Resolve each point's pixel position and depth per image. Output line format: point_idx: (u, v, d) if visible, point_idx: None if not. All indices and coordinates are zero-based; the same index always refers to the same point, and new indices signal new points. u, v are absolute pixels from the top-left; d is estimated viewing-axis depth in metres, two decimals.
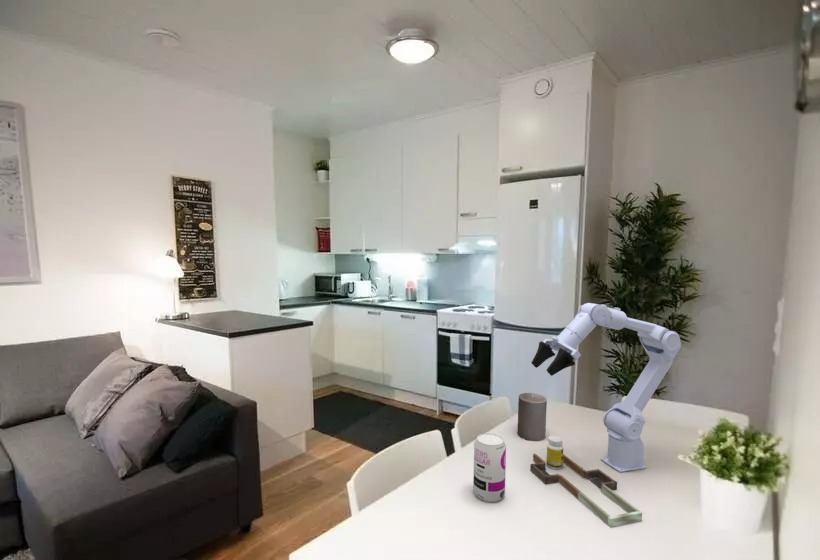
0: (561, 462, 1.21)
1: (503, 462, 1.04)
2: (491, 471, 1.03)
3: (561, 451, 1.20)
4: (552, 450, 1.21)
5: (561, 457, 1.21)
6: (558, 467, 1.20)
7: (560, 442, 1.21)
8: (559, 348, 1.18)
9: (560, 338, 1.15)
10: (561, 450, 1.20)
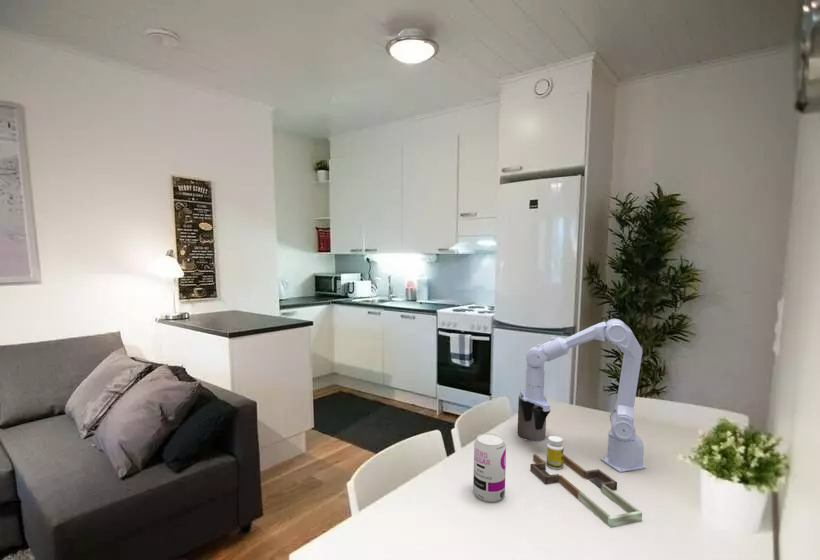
0: (561, 462, 1.21)
1: (503, 462, 1.04)
2: (491, 471, 1.03)
3: (561, 451, 1.20)
4: (552, 450, 1.21)
5: (561, 457, 1.21)
6: (558, 467, 1.20)
7: (560, 442, 1.21)
8: None
9: (528, 396, 1.31)
10: (561, 450, 1.20)
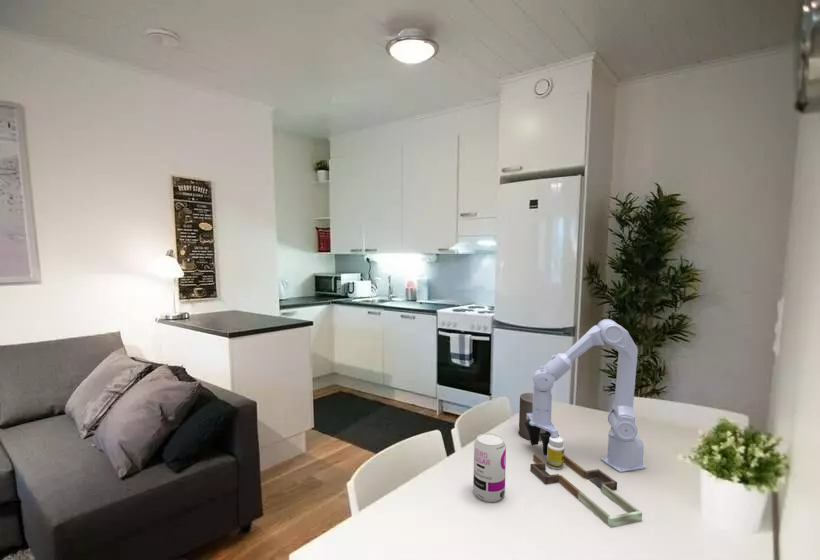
0: (561, 462, 1.21)
1: (503, 462, 1.04)
2: (491, 471, 1.03)
3: (562, 451, 1.20)
4: (553, 451, 1.20)
5: (562, 457, 1.20)
6: (558, 467, 1.20)
7: (561, 443, 1.20)
8: None
9: (535, 421, 1.28)
10: (562, 450, 1.20)
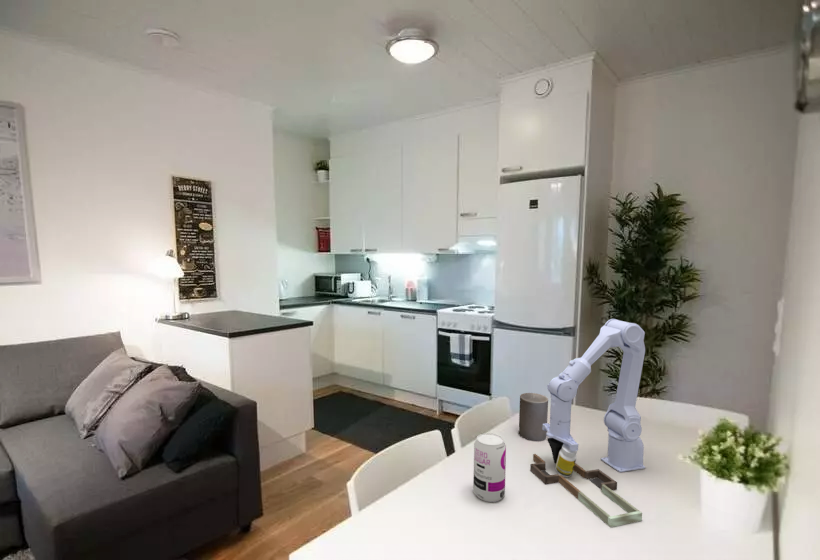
0: (572, 471, 1.16)
1: (503, 462, 1.04)
2: (491, 471, 1.03)
3: (574, 461, 1.15)
4: (565, 460, 1.15)
5: (573, 466, 1.15)
6: (568, 475, 1.16)
7: (574, 453, 1.14)
8: None
9: (553, 432, 1.18)
10: (574, 461, 1.14)
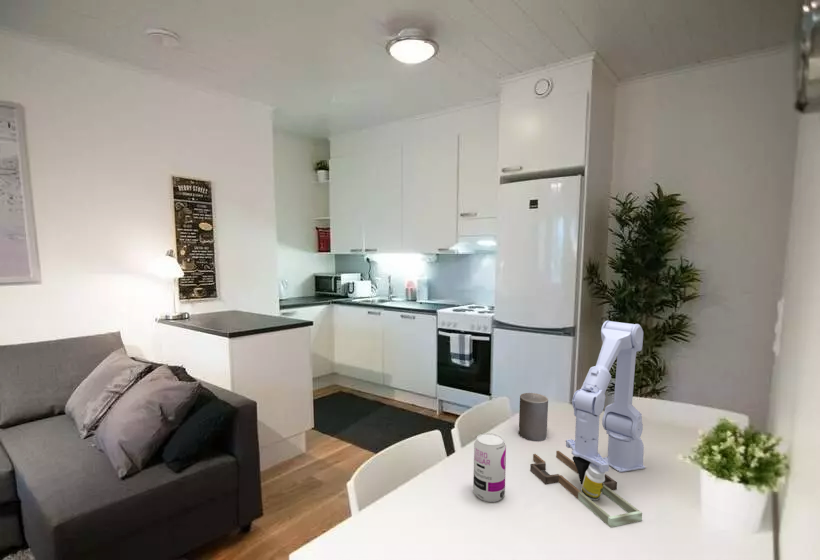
0: (599, 494, 1.05)
1: (503, 462, 1.04)
2: (491, 471, 1.03)
3: (602, 484, 1.04)
4: (591, 481, 1.04)
5: (601, 489, 1.04)
6: (595, 498, 1.05)
7: (602, 475, 1.03)
8: None
9: (579, 450, 1.08)
10: (602, 483, 1.03)
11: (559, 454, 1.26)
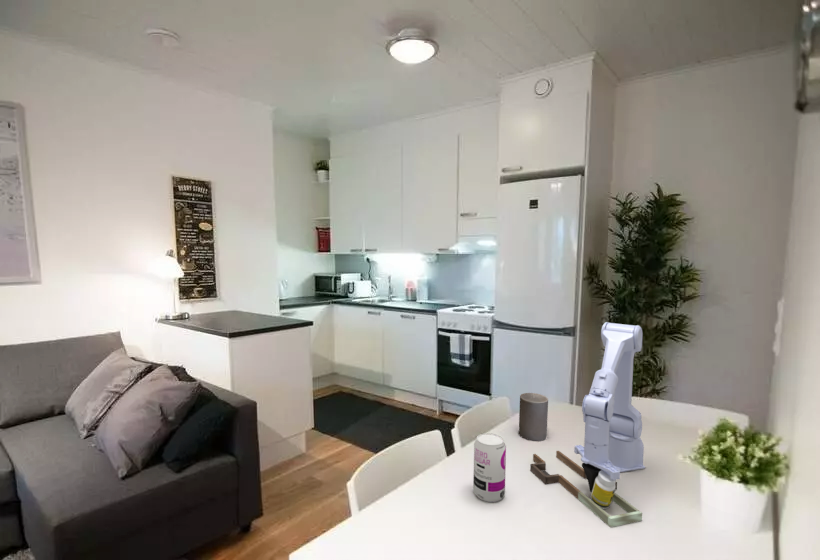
0: (609, 502, 1.01)
1: (503, 462, 1.04)
2: (491, 471, 1.03)
3: (612, 492, 1.00)
4: (601, 489, 1.00)
5: (611, 497, 1.01)
6: (604, 507, 1.01)
7: (613, 483, 0.99)
8: None
9: (588, 457, 1.04)
10: (612, 491, 1.00)
11: (559, 454, 1.26)
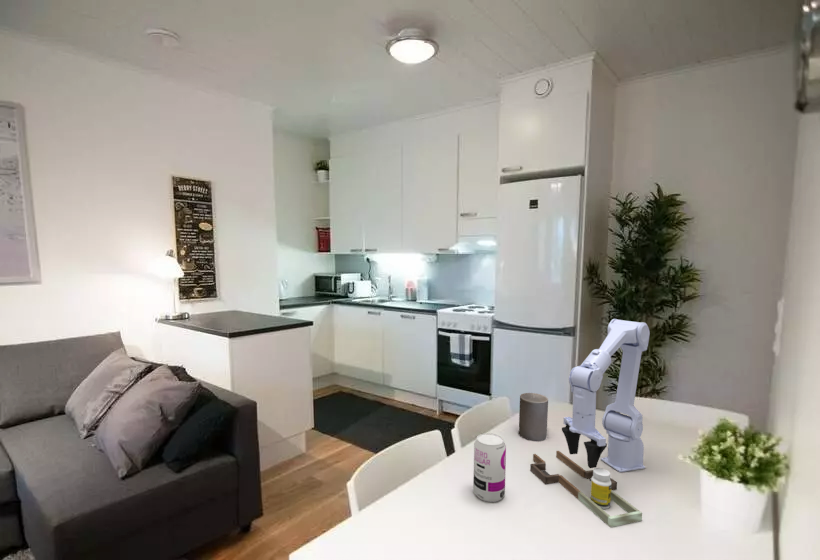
0: (608, 500, 1.02)
1: (503, 462, 1.04)
2: (491, 471, 1.03)
3: (608, 487, 1.01)
4: (597, 486, 1.02)
5: (609, 494, 1.02)
6: (604, 506, 1.01)
7: (607, 477, 1.02)
8: None
9: (576, 426, 1.09)
10: (608, 486, 1.01)
11: (559, 454, 1.26)
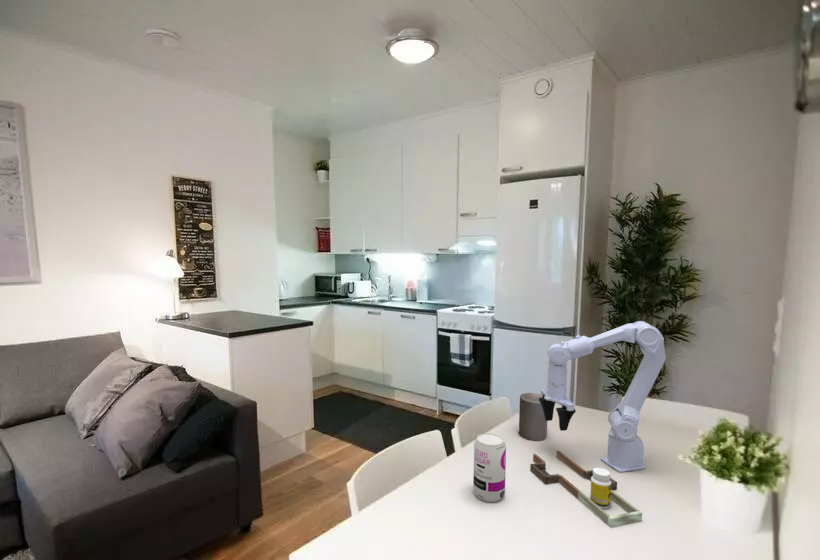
0: (608, 500, 1.02)
1: (503, 462, 1.04)
2: (491, 471, 1.03)
3: (608, 487, 1.02)
4: (597, 485, 1.02)
5: (609, 494, 1.02)
6: (604, 506, 1.01)
7: (607, 476, 1.02)
8: None
9: (550, 395, 1.27)
10: (608, 486, 1.01)
11: (559, 454, 1.26)
